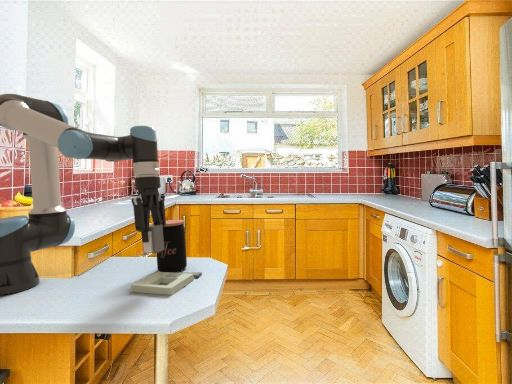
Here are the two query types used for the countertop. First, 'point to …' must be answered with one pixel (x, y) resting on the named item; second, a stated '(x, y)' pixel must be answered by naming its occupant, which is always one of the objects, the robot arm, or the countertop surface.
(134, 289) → the outlet plate
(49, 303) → the countertop surface
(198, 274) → the phone
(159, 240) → the block
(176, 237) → the coffee jar
